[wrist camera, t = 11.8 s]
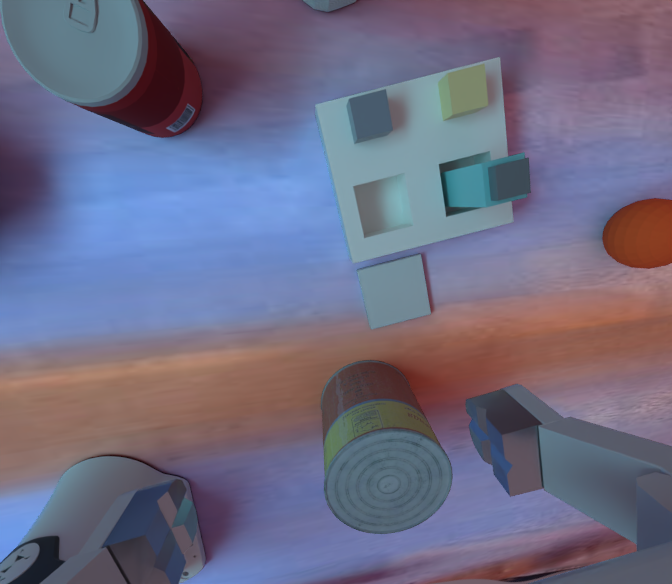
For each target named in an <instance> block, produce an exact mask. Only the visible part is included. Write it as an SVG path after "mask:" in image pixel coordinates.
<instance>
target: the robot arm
mask: <svg viewBox="0 0 672 584" xmlns="http://www.w3.org/2000/svg"><path fill="white" fill-rule="evenodd" d="M466 411H467V413H468V414H469V416H470V417H471V418H472V420H471V422H470V424H469V429H470V434H471V437H472V440H473V443H474V446H475V448H476V449H477V451H478V453H479V455H480V456H481V457H482V459H483V460H484V461H485V462H487V463H489V464H491V465H493V472H494V475H495V477H496V478H497V480H498V481H499V482H500V484H501V485H502V486H503V488H504V489H505V490H506V492H507V493H508V494H509V496H510V497H511V496H515V495H519V494H523V493H527V492H531V491H535V490H539V489H543V488H544V490H545V491H547V492H548V493H550V494H552V495H553V496H555V497H557V498H559V499H560V500H562V501H564V502H565V503H567V504H569V505H571V506H572V507H574V508H576V509H577V510H579V511H581V512H582V513H584V514H586V515H588V516H589V517H591V518H593V519H594V520H596V521H598V522H600V523H601V524H603V525H605V526H606V527H608V528H610V529H611V530H613V531H615V532H617V533H618V534H620V535H622V536H623V537H625V538H627V539H629V540H630V541H632V542H634V543H635V544H637V552H633V553H630V554H626V555H623V556H620V557H616V558H613V559H609V560H606V561H603V562H599V563H596V564H592V565H589V566H586V567H582V568H579V569H576V570H572V571H569V572H565V573H562V574H559V575H555V576H552V577H548V578H545V579H542V580H538V581H535V582H531V583H528V584H672V446H669V445H665V444H662V443H658V442H655V441H651V440H648V439H644V438H641V437H638V436H634V435H631V434H627V433H624V432H620V431H617V430H614V429H610V428H607V427H603V426H600V425H596V424H593V423H589V422H586V421H583V420H579V419H576V418H572V417H568V418H563V417H562V416H561V415H559V414H558V413H557V412H556V411H554V410H553V409H552V408H550V407H549V406H548V405H547V404H545V403H544V402H543V401H541V400H540V399H539V398H538V397H536V396H535V395H534V394H532V393H531V392H530V391H528V390H527V389H526V388H525V387H523V386H522V385H519V384H515V385H512V386H509V387H505V388H502V389H500V390H497V391H494V392H490V393H487V394H483V395H480V396H476V397H472V398H469V399H466ZM197 520H198V518H197V513H196V509H195V506H194V503H193V499H192V494H191V490H190V485H189V483H188V481H186V480H185V479H183V478H180V477H177V476H172V475H167V474H163V473H161V472H159V471H157V470H155V469H153V468H151V467H150V466H148V465H146V464H144V463H141V462H139V461H136V460H132V459H128V458H123V457H114V456H105V457H96V458H91V459H88V460H85V461H82V462H80V463H78V464H76V465H74V466H72V467H71V468H70V469H68V470H67V471H66V472H65V473H64V474H63V476H62V477H61V478H60V480H59V482H58V484H57V486H56V488H55V490H54V492H53V494H52V495H51V497H50V499H49V501H48V502H47V504H46V506H45V507H44V509H43V510H42V512H41V513H40V515H39V516H38V518H37V519H36V521H35V522H34V524H33V525H32V527H31V528H30V530H29V531H28V532H27V534H26V535H25V536H24V538H23V539H22V541H21V542H20V543H19V544H18V546H17V547H16V548H15V549H14V550H13V551H12V552H11V553H10V554H9V555H8V556H7V557H6V558H5V559H4V560H3V561H2V562H1V563H0V584H179V583H182V582H184V581H186V580H188V579H190V578H192V577H193V576H195V575H196V574H197V573H198V572H200V571H201V570H202V568H203V567H204V564H205V562H206V557H205V552H204V548H203V543H202V539H201V534H200V530H199V525H198V521H197Z"/></svg>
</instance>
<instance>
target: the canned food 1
mask: <svg viewBox="0 0 672 584" xmlns="http://www.w3.org/2000/svg"><path fill="white" fill-rule="evenodd" d="M0 11H1V18H2V25H3V28H4V31H5V34H6V38H7V41H8V43H9V45H10V47H11V49H12V51H13V53H14V55H15V57H16V58H17V60H18V61H19V63H20V64H21V65H22V67H23V68H24V70H25V71H26V72H27V73H28V74H29V75H30V76H31V77H32V78H33V79H34V80H35V81H36V82H37V83H38V84H40V85H41V86H42V87H44V88H45V89H46V90H47V91H49V92H51V93H53V94H54V95H56V96H58V97H60V98H62V99H63V100H65V101H67V102H70V103H72V104H75V105H77V106H79V107H81V108H83V109H86V110H88V111H91V112H93V113H96V114H98V115H101V116H103V117H105V118H108V119H110V120H113V121H115V122H118V123H120V124H123V125H125V126H128V127H130V128H133V129H135V130H137V131H140V132H142V133H145V134H148V135H151V136H154V137H162V138H164V137H172V136H175V135H178V134H181V133H183V132H184V131H186V130H187V129H189V128H190V127H191V126H192V125H193V123H194V122H195V120H196V119H197V117H198V115H199V112H200V110H201V105H202V87H201V81H200V77H199V74H198V71H197V68H196V67H195V65H194V63H193V61H192V59H191V58H190V57H189V55H188V54H187V53H186V52H185V50H184V49H183V48H182V47H181V46H180V44H179V43H178V42H177V41H176V40H175V38H174V37H173V36H172V35H171V34H170V32H169V31H168V30H167V29H166V27H165V26H164V25H163V24H162V23H161V21H160V20H159V19H158V18H157V17H156V15H155V14H154V13H153V12H152V11H151V9H150V8H149V7H148V6H147V5H146V3H145V2H144V1H143V0H0Z"/></svg>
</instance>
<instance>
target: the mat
mask: <svg viewBox="0 0 672 584" xmlns="http://www.w3.org/2000/svg"><path fill="white" fill-rule="evenodd" d="M357 273H358V277H359V282H360V286H361V290H362V295H363V299H364V303H365V307H366V312H367V316H368V320H369V325H370V328H371V329H375V328H379V327H383V326H387V325H391V324H394V323H398V322H402V321H406V320H410V319H414V318H418V317H422V316H425V315H429V314H431V311H430V305H429V299H428V293H427V288H426V282H425V276H424V270H423V264H422V258H421V254H416V255H412V256H408V257H404V258H400V259H396V260H392V261H388V262H385V263H381V264H377V265H373V266H369V267H365V268H361V269H357Z"/></svg>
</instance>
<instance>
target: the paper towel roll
mask: <svg viewBox="0 0 672 584" xmlns="http://www.w3.org/2000/svg"><path fill="white" fill-rule="evenodd" d="M303 1H304V2H305V3H307V4H308V5H309V6H311V7H312V8H313V9H315V10H320V11H325V12H330V11H333V10H336V9H339V8H342V7H344V6H347V5H349V4H352V3H355V2H356V0H303Z"/></svg>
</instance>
